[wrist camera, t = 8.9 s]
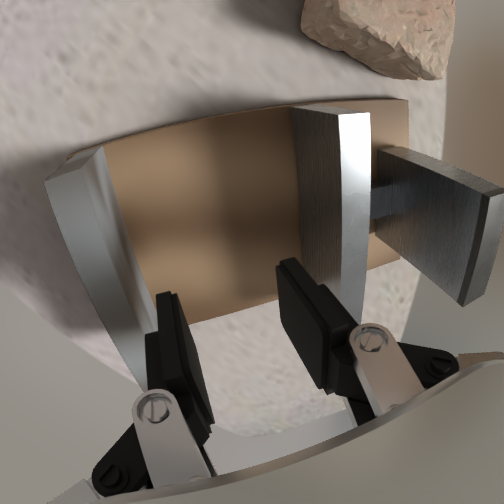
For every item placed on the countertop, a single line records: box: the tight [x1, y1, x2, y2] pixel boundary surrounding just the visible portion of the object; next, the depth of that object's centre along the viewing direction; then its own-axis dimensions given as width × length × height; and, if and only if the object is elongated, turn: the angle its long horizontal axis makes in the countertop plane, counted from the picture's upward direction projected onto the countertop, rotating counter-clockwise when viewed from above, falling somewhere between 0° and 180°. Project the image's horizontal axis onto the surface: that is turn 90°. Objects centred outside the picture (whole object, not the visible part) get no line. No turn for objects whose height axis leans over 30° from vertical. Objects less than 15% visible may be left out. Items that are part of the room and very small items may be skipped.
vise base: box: [44, 99, 409, 393], centre depth 16 cm, size 12×20×6 cm, turn 98°
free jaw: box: [290, 104, 504, 326], centre depth 15 cm, size 12×8×8 cm, turn 8°
